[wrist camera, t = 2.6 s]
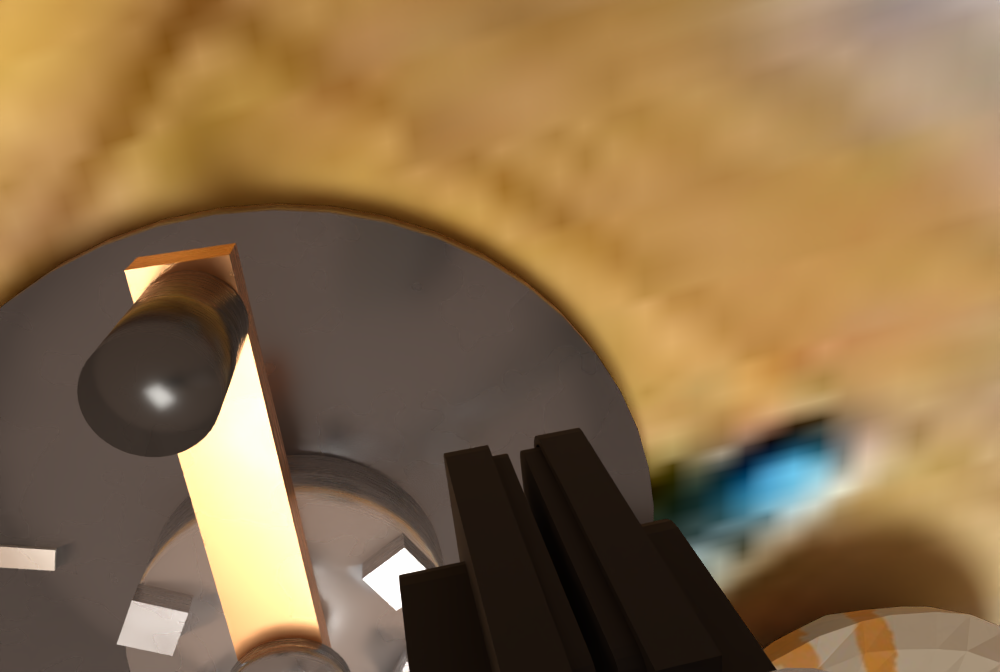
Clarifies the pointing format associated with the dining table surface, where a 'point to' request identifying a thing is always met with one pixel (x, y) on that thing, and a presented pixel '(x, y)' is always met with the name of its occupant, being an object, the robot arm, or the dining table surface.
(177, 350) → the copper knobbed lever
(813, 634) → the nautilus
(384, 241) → the dark gray metal disc
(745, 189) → the dining table surface
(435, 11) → the dining table surface
